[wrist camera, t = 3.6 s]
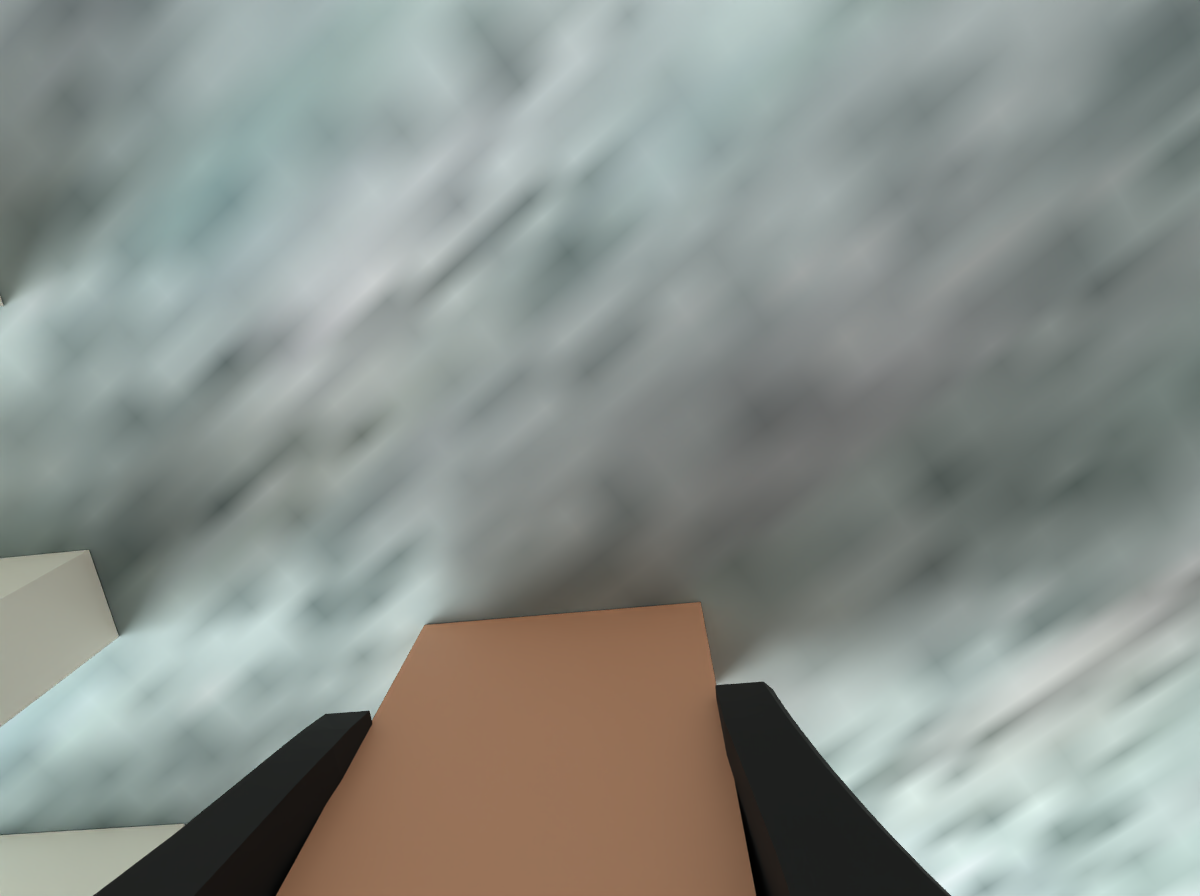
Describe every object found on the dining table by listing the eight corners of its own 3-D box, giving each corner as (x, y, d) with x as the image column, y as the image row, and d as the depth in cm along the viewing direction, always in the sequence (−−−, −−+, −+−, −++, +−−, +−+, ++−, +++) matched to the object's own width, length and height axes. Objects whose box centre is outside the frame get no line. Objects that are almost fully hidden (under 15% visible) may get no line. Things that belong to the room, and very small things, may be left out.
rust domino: (708, 688, 11) (859, 1581, 4) (442, 708, 12) (90, 1564, 4) (700, 601, 11) (855, 1413, 3) (424, 624, 11) (-4, 1406, 4)
